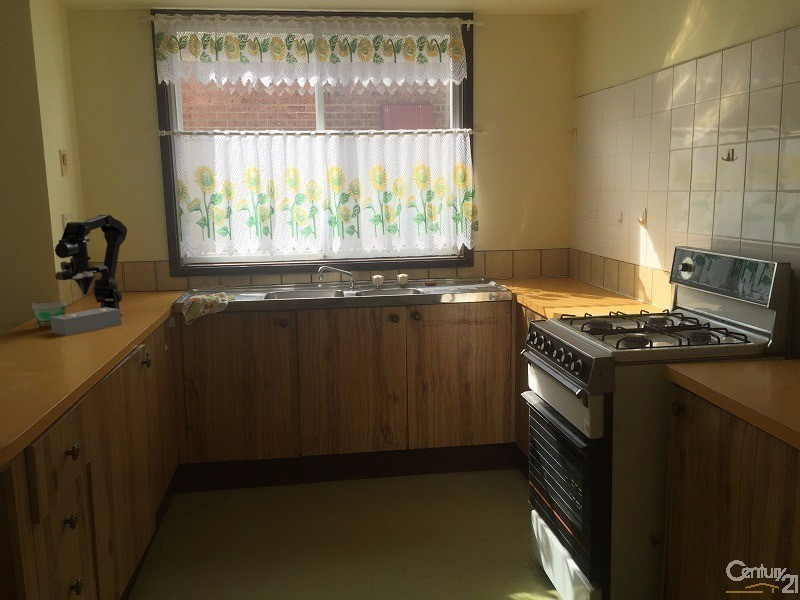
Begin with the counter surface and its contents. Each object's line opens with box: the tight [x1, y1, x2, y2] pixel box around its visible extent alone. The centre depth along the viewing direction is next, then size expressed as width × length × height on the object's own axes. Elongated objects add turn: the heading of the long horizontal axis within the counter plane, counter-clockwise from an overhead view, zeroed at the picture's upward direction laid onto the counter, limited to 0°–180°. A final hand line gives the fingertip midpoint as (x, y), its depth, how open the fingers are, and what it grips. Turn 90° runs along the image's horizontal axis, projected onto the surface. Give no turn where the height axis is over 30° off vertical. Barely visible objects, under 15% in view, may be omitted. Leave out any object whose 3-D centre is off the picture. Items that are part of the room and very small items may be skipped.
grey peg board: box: [50, 307, 122, 337], centre depth 268 cm, size 22×10×6 cm, turn 143°
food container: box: [31, 299, 68, 330], centre depth 272 cm, size 12×6×10 cm, turn 105°
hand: (85, 294), depth 276 cm, fingers closed
